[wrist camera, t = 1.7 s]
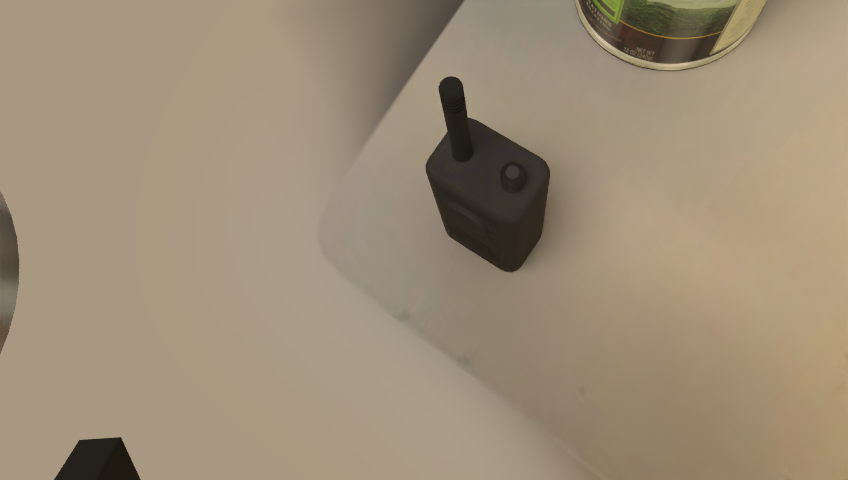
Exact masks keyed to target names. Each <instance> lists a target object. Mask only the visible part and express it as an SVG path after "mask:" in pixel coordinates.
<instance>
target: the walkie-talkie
mask: <svg viewBox="0 0 848 480" xmlns="http://www.w3.org/2000/svg"><path fill="white" fill-rule="evenodd" d="M439 94H440V98H441V103H442V107H443V112H444V116H445V121H446V126H447V130H448V132H447V133H446V135H445V136H444V138H443V139H442V140H441V142H440V143H439V145H438V146H437V147H436V149H435V150H434V152H433V153H432V154H431V156H430V157H429V159H428V161H427V163H426V173H427V176H428V179H429V182H430V185H431V188H432V191H433V194H434V197H435V200H436V203H437V206H438V208H439V211H440V214H441V217H442V220H443V223H444V226H445V229H446V231H447V233H448V235H449V236H450V237H451V238H453V239H454V240H456V241H457V242H459V243H460V244H462V245H464V246H465V247H467V248H468V249H470V250H471V251H473V252H474V253H476V254H478V255H479V256H481V257H482V258H484V259H485V260H487V261H489V262H490V263H492V264H493V265H495V266H496V267H498V268H500V269H501V270H504V271H506V272H513V271H516V270H518V269H519V268H520V267H521V266H522V264H523V263H524V261H525V260H526V258H527V257H528V255H529V254H530V252H531V251H532V249H533V248H534V246H535V245H536V243H537V242H538V240H539V239H540V237H541V234H542V228H543V221H544V214H545V207H546V200H547V193H548V186H549V179H550V170H549V167H548V165H547V164H546V162H545V161H544V160H543V159H542V158H540V157H539V156H537V155H535V154H534V153H532V152H530V151H529V150H527V149H525V148H523V147H522V146H520V145H518V144H517V143H515V142H513V141H511V140H510V139H508V138H506V137H504V136H503V135H501V134H499V133H498V132H496V131H494V130H492V129H491V128H489V127H487V126H486V125H484V124H482V123H480V122H479V121H477V120H474V119H472V118H468V117H467V110H466V104H465V97H464V90H463V85H462V82H461V81H460V80H459V79H458V78H456V77H446V78H444V79H443V80H442V81H441V82H440V85H439Z"/></svg>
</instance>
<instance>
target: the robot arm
mask: <svg viewBox="0 0 848 480" xmlns="http://www.w3.org/2000/svg"><path fill="white" fill-rule="evenodd" d="M54 480H140V478H139V475H138V473H137V471H136V469H135V467H134V465H133V463H132V461H131V458H130V456H129V454H128V452H127V450H126V448H125V445H124V443H123V441H122V439H121V437H120V438H119V437H118V438H104V439H88V440H79V442H78V443H77V445H76V446H75V448H74V449H73V451H72V453H71V454H70V456H69V457H68V459H67V460H66V462H65V464H64V465H63V467H62V468H61V470H60V472H59V473H58V475H57V476H56V478H55V479H54Z"/></svg>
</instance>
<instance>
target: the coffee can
mask: <svg viewBox="0 0 848 480" xmlns="http://www.w3.org/2000/svg"><path fill="white" fill-rule="evenodd" d="M766 1H767V0H575V3H576V7H577V11H578V14H579V17H580V19H581V21H582V23H583V25H584V26H585V28H586V29H587V31H588V32H589V34H590V35H591V36H592V37H593V38H594V40H595V41H596V42H597V43H598V44H599V45H601V46H602V47H603V48H604V49H606V50H607V51H608V52H610V53H611V54H613V55H614V56H616V57H618V58H620V59H622V60H623V61H626V62H628V63H631V64H633V65H636V66H640V67H644V68H650V69H655V70H682V69H689V68H694V67H698V66H701V65H705V64H708V63H710V62H712V61H715V60H717V59H719V58H720V57H722V56H724V55H725V54H727V53H728V52H730V51H731V50H732V49H734V48H735V47H736V46H737V45H738V44H739V43H740V42H741V41H743V39H744V38H745V37H746V36H747V34H748V33H749V32H750V30H751V29H752V28H753V26H754V24H755V22H756V20H757V19H758V17H759V14H760V11H761V9H762V8H763V6H764V5H765V3H766Z"/></svg>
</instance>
